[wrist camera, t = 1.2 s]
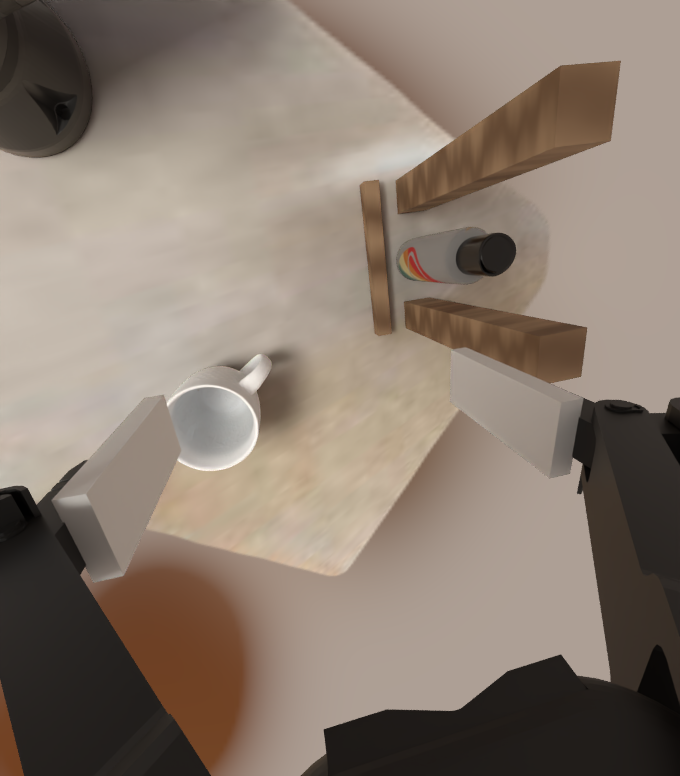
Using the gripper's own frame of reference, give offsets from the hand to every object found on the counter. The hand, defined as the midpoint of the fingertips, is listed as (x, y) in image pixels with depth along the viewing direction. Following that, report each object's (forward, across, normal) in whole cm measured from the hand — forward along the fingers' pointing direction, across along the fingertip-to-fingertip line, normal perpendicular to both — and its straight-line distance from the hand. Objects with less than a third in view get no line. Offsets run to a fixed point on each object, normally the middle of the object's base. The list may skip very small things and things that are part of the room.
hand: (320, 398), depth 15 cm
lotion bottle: (+36, +20, +4) cm, 41 cm away
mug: (+36, -10, -11) cm, 38 cm away
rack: (+35, +17, +4) cm, 40 cm away
